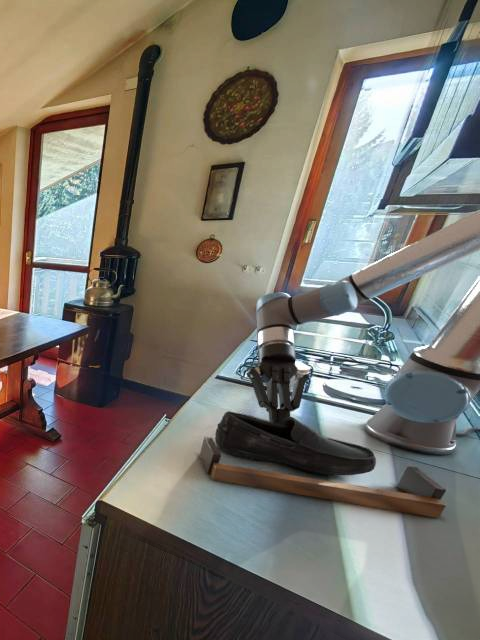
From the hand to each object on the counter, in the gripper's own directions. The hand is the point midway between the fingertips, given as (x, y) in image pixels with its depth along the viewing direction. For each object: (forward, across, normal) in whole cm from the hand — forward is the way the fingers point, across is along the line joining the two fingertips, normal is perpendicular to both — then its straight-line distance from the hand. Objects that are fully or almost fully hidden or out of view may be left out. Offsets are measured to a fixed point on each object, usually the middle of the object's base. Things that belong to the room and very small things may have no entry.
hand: (280, 436), depth 92 cm
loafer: (+7, 0, +2) cm, 7 cm away
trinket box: (-30, -17, -34) cm, 49 cm away
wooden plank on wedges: (+12, 0, +8) cm, 15 cm away
